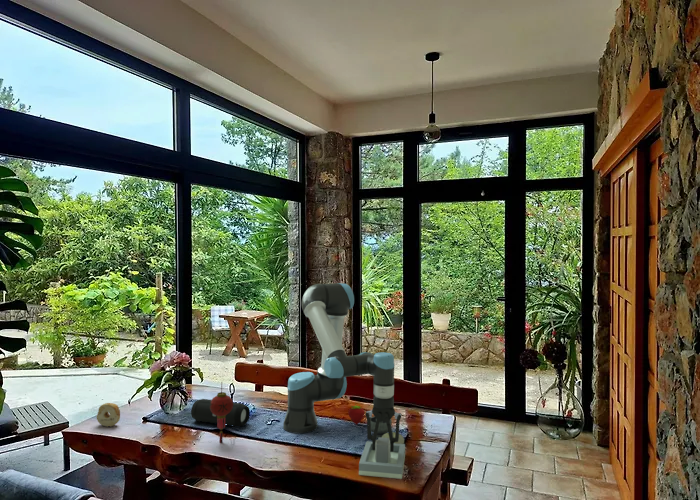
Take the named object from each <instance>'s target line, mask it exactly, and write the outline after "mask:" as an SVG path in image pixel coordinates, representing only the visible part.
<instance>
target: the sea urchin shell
mask: <svg viewBox="0 0 700 500" xmlns="http://www.w3.org/2000/svg"><path fill="white" fill-rule="evenodd" d="M392 432H393V437H395V432H396V431H392ZM382 438H389V433H386V434H384V435H383V436H382ZM389 441H390V438H389ZM394 443H396V444H405V439H404V436H403V435H402V434H400V433H399V440H398V442H394Z"/></svg>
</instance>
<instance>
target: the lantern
mask: <svg viewBox="0 0 700 500" xmlns="http://www.w3.org/2000/svg"><path fill="white" fill-rule="evenodd" d="M220 389H221V390H220V391H221V392H217V395H216V396H213V397H212V399H210V400H211V402H210V411H211V412H212V413H213V414H214V415H217V424H216V427H217V429H219V444H222V443H223V440H224V439H223V436H224V435H223V434H224V432H223V430H224V429H225V428H226V425H225V417H226V415H227V414H228V413H230V411H231V410H232V408H233V398H231V396H230V395H227V393H226V392H225V391H223V383H221V388H220Z"/></svg>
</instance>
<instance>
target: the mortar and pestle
mask: <svg viewBox="0 0 700 500" xmlns="http://www.w3.org/2000/svg"><path fill="white" fill-rule="evenodd" d="M376 420H377V419H376V418H375V416H374V415H373V416H372V417H371V433H372V435H373V434H374V430H375V425H376ZM390 420H391V424H393V423H392V418H391V419H390ZM386 433H388V428H387V424H386V422H384V421H382V422H380V423H379V428H378V433H377V437H376V439H377V438H379V437H382V436H383V435H384V434H386Z"/></svg>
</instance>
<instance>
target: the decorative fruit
mask: <svg viewBox="0 0 700 500" xmlns="http://www.w3.org/2000/svg"><path fill="white" fill-rule="evenodd" d="M350 407H351V408H349V409H348V417H349V418H350V419H351V421H352V422H353V423H354V424H355V426H357V425H359V424H360V422H361V421H362V420H363V418H364V416H365V414H366V412H365V410H364V409H363V407H362V406H361V405H356V402H355V405H351V406H350Z"/></svg>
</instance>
